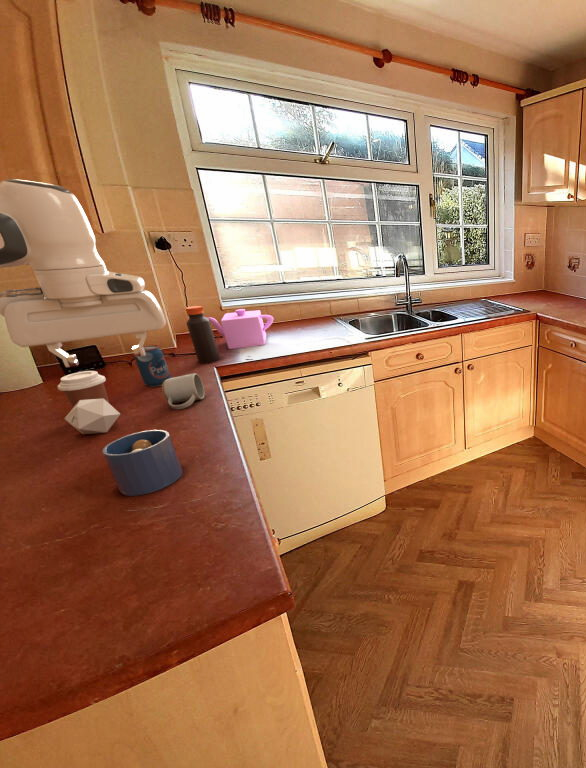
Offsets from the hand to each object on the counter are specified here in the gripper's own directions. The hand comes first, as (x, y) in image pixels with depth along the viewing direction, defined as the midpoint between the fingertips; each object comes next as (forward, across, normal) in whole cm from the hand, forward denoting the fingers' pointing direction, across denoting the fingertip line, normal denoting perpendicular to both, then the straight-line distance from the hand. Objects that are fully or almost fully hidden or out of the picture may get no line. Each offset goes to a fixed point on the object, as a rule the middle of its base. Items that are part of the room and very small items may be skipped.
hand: (107, 360), depth 78 cm
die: (+25, -13, +34) cm, 44 cm away
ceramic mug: (+25, +5, +42) cm, 49 cm away
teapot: (+25, +24, +104) cm, 110 cm away
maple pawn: (+24, 0, 0) cm, 24 cm away
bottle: (+25, +11, +84) cm, 88 cm away
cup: (+25, 0, -2) cm, 25 cm away
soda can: (+25, -3, +66) cm, 71 cm away
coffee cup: (+25, -15, +45) cm, 54 cm away
